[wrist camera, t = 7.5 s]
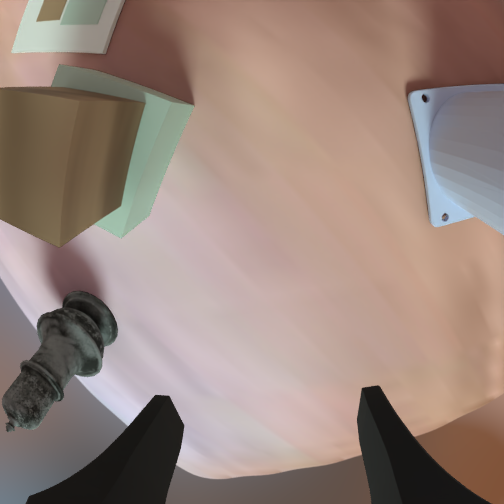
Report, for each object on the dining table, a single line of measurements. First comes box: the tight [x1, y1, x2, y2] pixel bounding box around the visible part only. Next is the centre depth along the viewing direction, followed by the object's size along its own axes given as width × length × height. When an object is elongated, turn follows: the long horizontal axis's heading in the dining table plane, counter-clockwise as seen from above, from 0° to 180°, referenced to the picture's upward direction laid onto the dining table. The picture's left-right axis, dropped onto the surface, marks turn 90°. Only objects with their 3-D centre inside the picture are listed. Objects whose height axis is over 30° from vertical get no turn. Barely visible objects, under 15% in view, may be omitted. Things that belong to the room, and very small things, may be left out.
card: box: [11, 0, 125, 54], centre depth 12 cm, size 9×7×1 cm
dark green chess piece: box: [2, 291, 118, 432], centre depth 16 cm, size 6×6×12 cm
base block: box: [51, 64, 194, 238], centre depth 15 cm, size 7×7×4 cm
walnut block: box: [0, 87, 146, 248], centre depth 10 cm, size 5×5×5 cm
